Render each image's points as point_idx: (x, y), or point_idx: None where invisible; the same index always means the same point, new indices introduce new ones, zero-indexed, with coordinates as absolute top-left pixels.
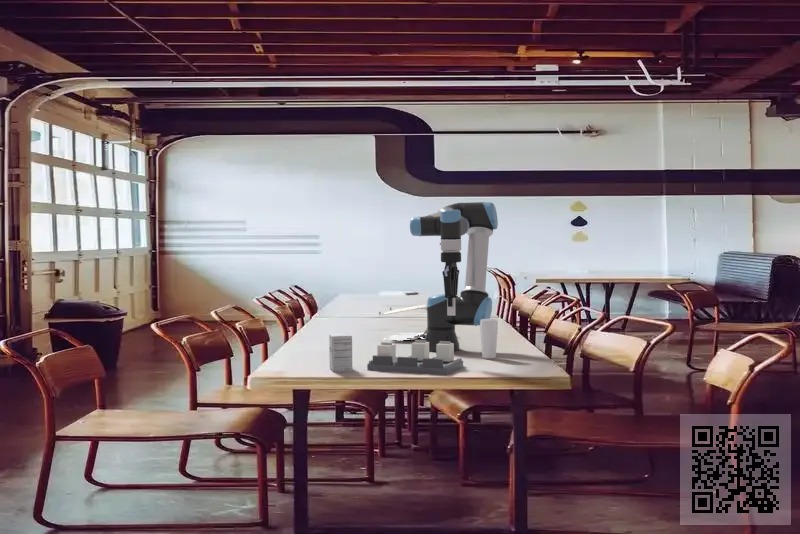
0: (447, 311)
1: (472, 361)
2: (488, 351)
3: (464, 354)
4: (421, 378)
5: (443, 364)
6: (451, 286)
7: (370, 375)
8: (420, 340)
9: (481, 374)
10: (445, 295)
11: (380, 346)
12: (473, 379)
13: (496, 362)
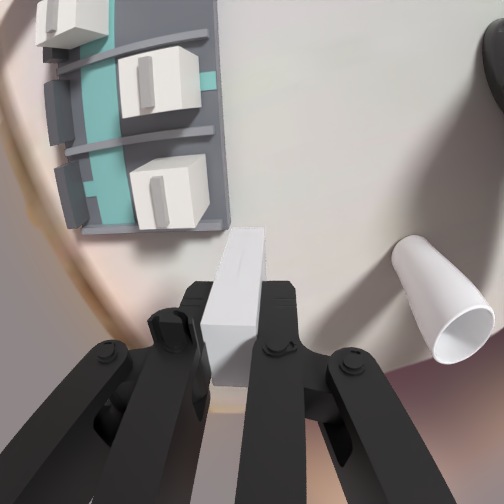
0: (226, 244)
1: (339, 221)
2: (397, 270)
3: (467, 160)
4: (33, 190)
5: (128, 199)
6: (97, 485)
7: (15, 66)
8: (143, 83)
9: (138, 299)
10: (97, 350)
11: (38, 13)
12: (83, 295)
13: (338, 291)
